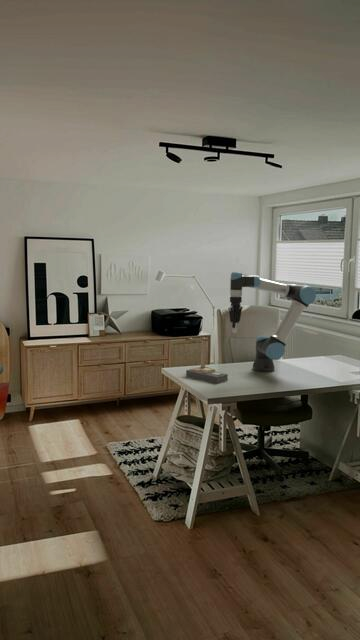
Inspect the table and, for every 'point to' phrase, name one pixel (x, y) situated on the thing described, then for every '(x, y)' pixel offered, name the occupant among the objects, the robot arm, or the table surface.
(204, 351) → the headphone stand
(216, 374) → the sage key
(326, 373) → the table surface
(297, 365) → the table surface
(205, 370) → the sand key
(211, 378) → the keypad
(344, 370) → the table surface
